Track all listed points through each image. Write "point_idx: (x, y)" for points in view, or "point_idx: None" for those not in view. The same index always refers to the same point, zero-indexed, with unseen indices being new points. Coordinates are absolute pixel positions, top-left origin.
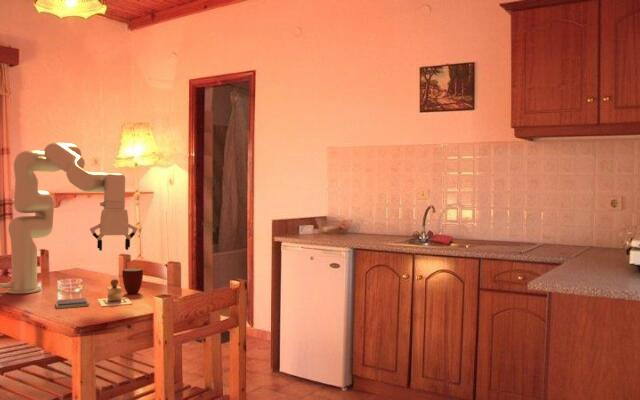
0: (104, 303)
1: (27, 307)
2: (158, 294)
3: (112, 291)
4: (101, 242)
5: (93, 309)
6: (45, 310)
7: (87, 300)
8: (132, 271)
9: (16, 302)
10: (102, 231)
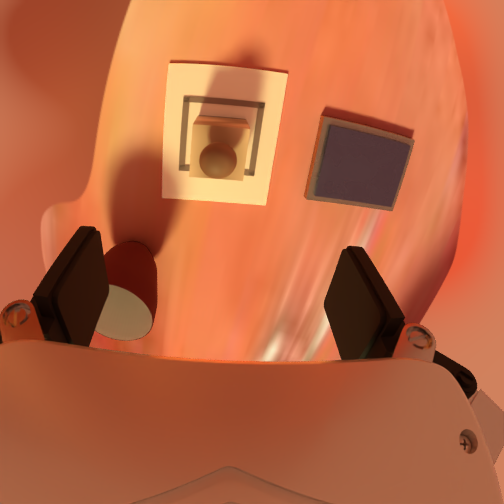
0: (265, 113)
1: (446, 203)
2: (60, 204)
3: (234, 125)
4: (382, 296)
5: (323, 50)
6: (435, 135)
7: (313, 170)
8: (114, 283)
9: (433, 271)
10: (465, 398)
